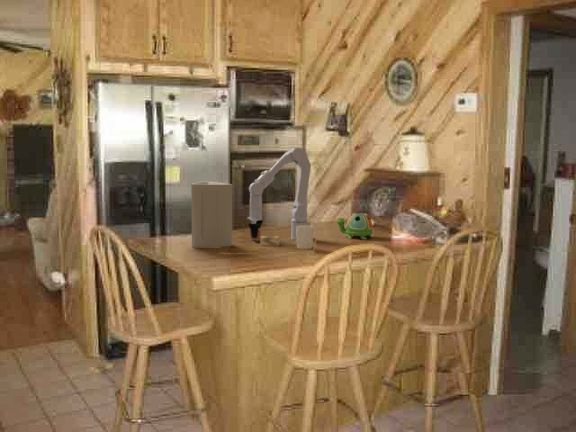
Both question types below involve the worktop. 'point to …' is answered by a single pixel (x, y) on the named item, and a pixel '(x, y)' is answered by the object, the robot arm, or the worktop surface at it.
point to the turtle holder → (357, 226)
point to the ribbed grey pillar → (211, 214)
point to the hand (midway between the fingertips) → (255, 236)
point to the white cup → (304, 236)
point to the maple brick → (269, 240)
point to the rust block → (257, 235)
